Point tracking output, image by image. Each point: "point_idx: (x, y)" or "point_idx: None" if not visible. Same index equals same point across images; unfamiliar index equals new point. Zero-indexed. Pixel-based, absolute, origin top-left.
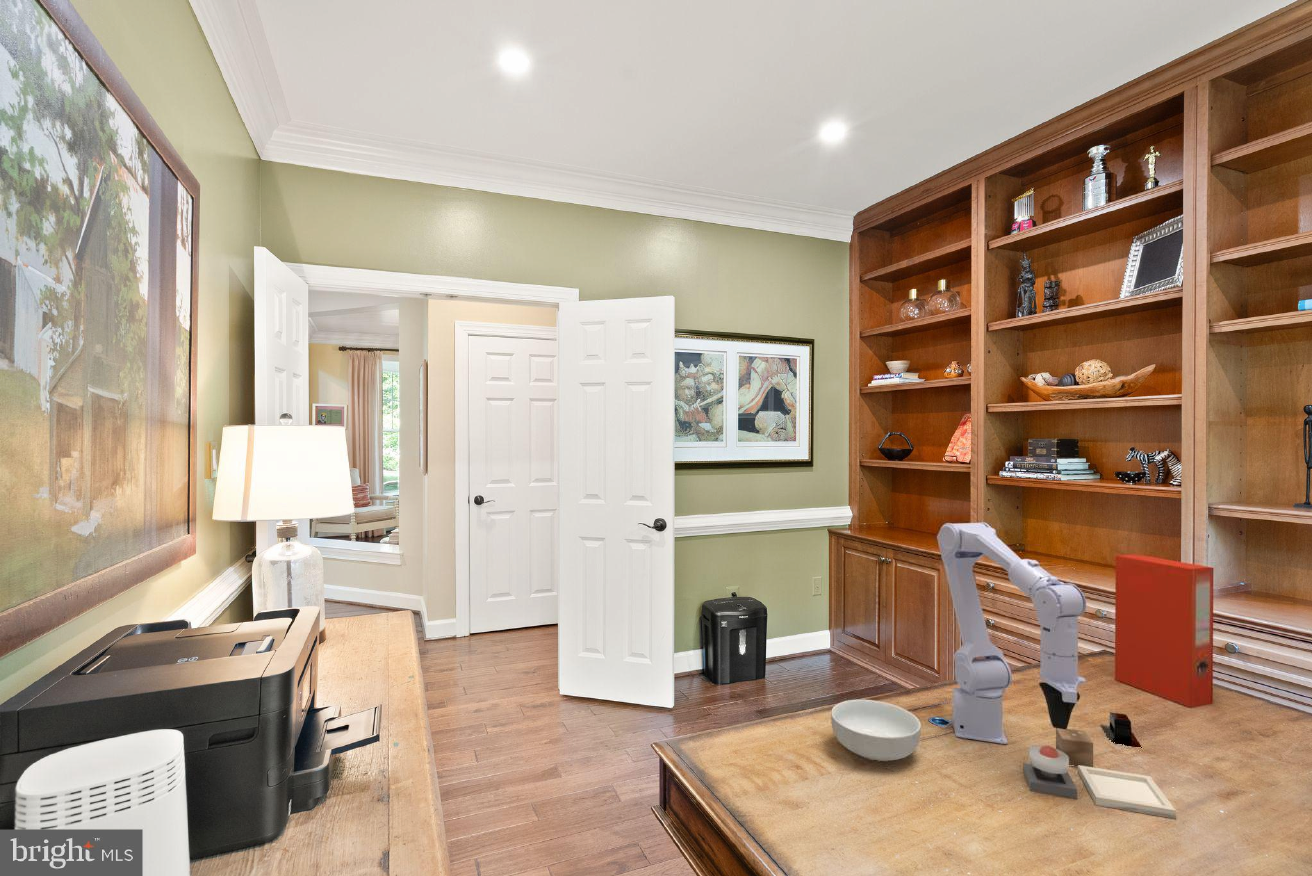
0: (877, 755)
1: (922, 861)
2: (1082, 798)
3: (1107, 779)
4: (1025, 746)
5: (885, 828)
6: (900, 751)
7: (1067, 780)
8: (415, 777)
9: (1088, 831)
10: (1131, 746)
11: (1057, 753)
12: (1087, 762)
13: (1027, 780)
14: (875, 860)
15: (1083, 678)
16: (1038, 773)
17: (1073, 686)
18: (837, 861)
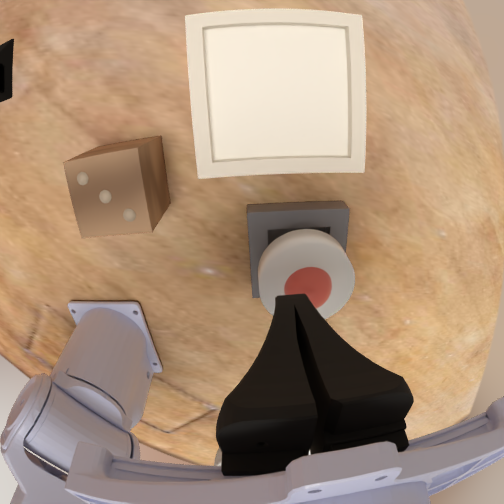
0: None
1: (481, 365)
2: (336, 188)
3: (228, 114)
4: (121, 268)
5: (438, 396)
6: None
7: (309, 220)
8: None
9: (446, 209)
10: (11, 58)
11: (319, 274)
12: (158, 151)
13: None
14: (474, 387)
15: (337, 482)
16: None
17: (483, 459)
18: (470, 401)
